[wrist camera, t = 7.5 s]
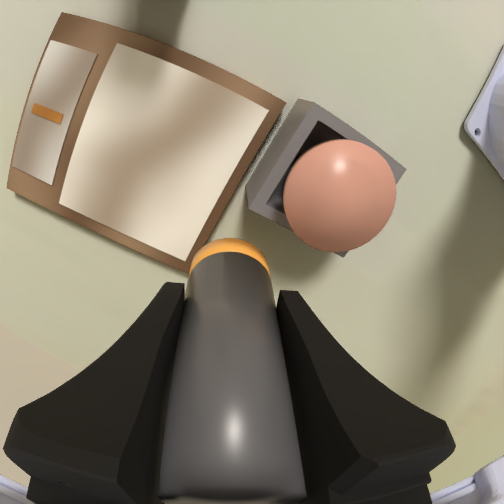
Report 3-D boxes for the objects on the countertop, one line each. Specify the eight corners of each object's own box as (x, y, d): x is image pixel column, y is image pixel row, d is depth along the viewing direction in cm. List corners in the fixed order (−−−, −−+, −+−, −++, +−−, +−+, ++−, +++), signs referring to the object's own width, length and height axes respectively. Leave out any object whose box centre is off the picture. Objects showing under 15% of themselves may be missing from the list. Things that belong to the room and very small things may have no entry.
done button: (386, 163, 13) (415, 182, 11) (335, 237, 15) (352, 267, 13) (309, 110, 12) (328, 117, 9) (256, 195, 14) (261, 221, 11)
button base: (378, 152, 15) (406, 169, 12) (326, 228, 17) (343, 257, 14) (298, 98, 13) (314, 102, 11) (245, 185, 15) (248, 208, 13)
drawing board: (283, 101, 13) (287, 102, 12) (190, 265, 17) (188, 275, 17) (69, 14, 10) (60, 11, 9) (13, 183, 14) (5, 188, 13)
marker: (284, 267, 13) (336, 491, 5) (235, 314, 14) (243, 518, 6) (222, 222, 12) (213, 476, 4) (175, 277, 13) (135, 498, 5)
